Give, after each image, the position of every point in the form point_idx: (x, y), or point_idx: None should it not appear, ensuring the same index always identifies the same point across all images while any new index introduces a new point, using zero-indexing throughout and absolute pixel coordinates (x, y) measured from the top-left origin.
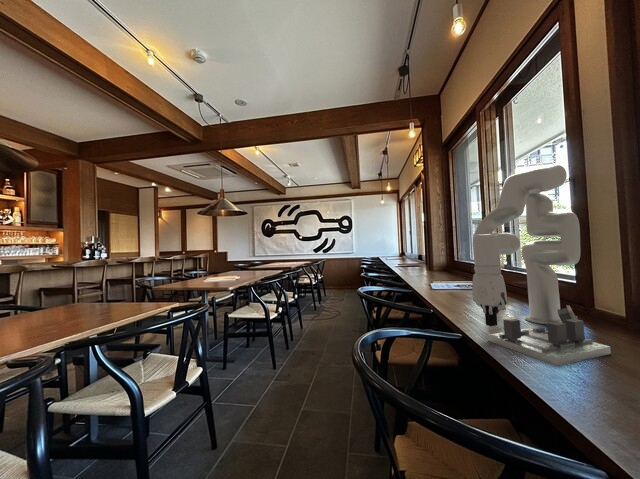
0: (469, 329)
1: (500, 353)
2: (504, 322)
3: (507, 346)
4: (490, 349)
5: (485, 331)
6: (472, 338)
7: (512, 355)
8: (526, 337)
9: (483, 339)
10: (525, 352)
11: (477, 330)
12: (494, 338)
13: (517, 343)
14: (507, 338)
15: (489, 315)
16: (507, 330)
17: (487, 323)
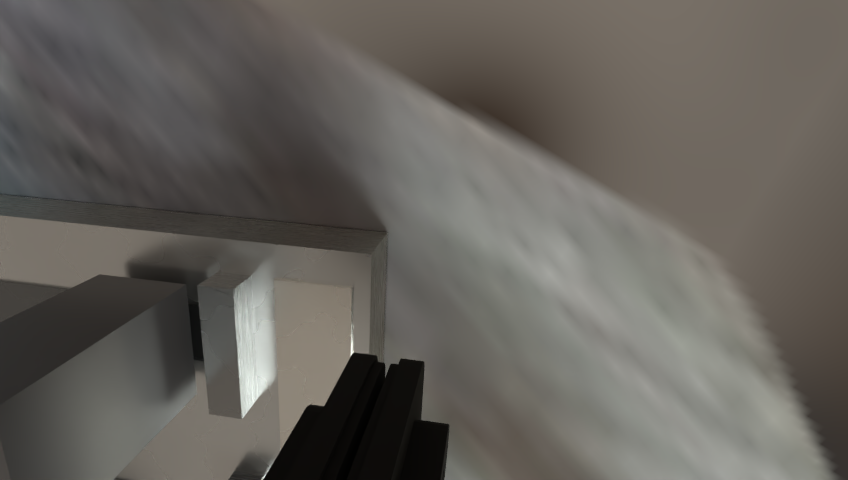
0: (783, 399)
1: (78, 21)
2: (18, 376)
3: (165, 214)
4: (188, 27)
5: (618, 461)
6: (529, 155)
7: (18, 77)
8: (165, 459)
9: (444, 229)
10: (2, 199)
11: (695, 432)
12: (291, 240)
13: (52, 250)
14: (190, 303)
15: (291, 471)
16: (79, 319)
17: (393, 376)
